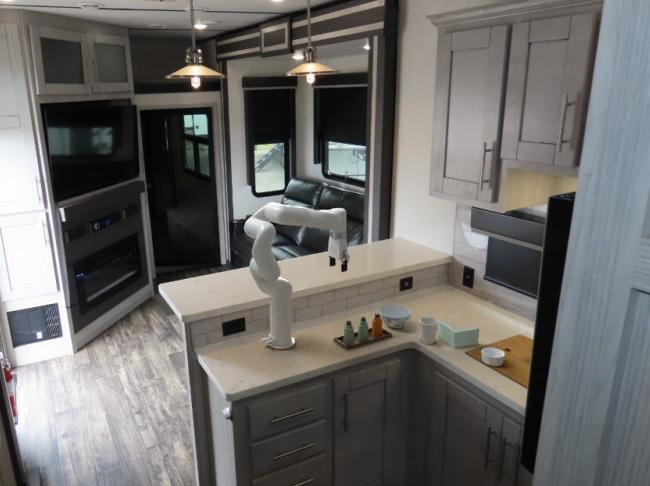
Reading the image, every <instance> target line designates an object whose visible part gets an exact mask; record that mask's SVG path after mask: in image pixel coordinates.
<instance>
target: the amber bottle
mask: <svg viewBox="0 0 650 486" xmlns="http://www.w3.org/2000/svg"><path fill="white" fill-rule="evenodd" d="M371 327H372V335H373V336H375V337H380V336H382V328H383V320H382V318H381V316H380V313H379V312H375V313H374V316H373V318H372V320H371Z"/></svg>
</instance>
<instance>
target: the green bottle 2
mask: <svg viewBox="0 0 650 486" xmlns="http://www.w3.org/2000/svg"><path fill="white" fill-rule="evenodd" d="M366 318H367V317H366V316H361V317H360V319H359V321H358V323H357V331H358V339H359V340H361V341H366V340H368V328H369V323H368V321H367V319H366Z"/></svg>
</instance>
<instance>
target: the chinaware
mask: <svg viewBox="0 0 650 486" xmlns="http://www.w3.org/2000/svg"><path fill="white" fill-rule="evenodd" d="M378 313H379V314H380V316H381V319H382V322H384V323H385V324H386V325H387V326H388V327H389V328H392V329H397V330H398V329H401V328H403V326H404V325H406V324H407V323H408V322H409V320H410V319H411V316H412V310H411V309H410V308H409V307H406V306H404V305H399V304H388V305H383V306H381V307H379V309H378Z"/></svg>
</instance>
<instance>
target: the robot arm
mask: <svg viewBox="0 0 650 486" xmlns="http://www.w3.org/2000/svg"><path fill="white" fill-rule="evenodd" d="M273 223H275V224H278V225H285V226H296V227H304V228H313V229H323V230H329V237H328V245H327V246H328V247H327V248H326V249H327V254H328V259H329V267H335V266H337V265H336V264H337V262H336V261H337V260H338V261H340V262H341V264H340V272H341V273H345V272H347V271H348V264H349V262H350V259H351V256H350V254H349V253H348V241H347V210H346V209H345V208H343V207H342V208H341V207H336V208H331V209H320V210H318V209H317V210H316V209H313V208H309V207H305V206H297V205H288V204H281V203H277V202H269V203H266V204H265V205H264V206H262V207H261V208H259V209H258V210H257V211H256V212H255V213H254V214H252V215H251V216H250V217H249V218H248V219H247V220H246V221H245V223H244V225H243V231H244V233H245V235H247V236H248V237H250V238H253V239H255V240H254V243H253V245H252V248H251V256H252V258H251V259H250V261H249V273H250V274H251V276H252V278H253V280H254V282H255V284H256V286H257V287H258V289H259V290H260V292H262V293H264V294H265V295H267V296H270V297H271V301H270V304H269V321H270V323H269V324H270V325H269V326H270V333H269V334H268V336H267V337H264V338H261V339H260V342H261V344H266V345H267V346H269V348H271V349H274V350H288V349H291V348H293V347H294V346H295V345H296V339H295V338H294V337H293V336H292V335H293V334H292V307H291V306H292V295H293V286H292V284H291V282H290V281H288V280H287V279H285V278H284V277H281V273H282V271H281V267H280V265H279V263H278V261H277V259H276V257H275V254H274V253H273V251H272V245H273V242H274V240H275V238H276V234H277V231H276V227H275V226H274V224H273Z"/></svg>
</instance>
